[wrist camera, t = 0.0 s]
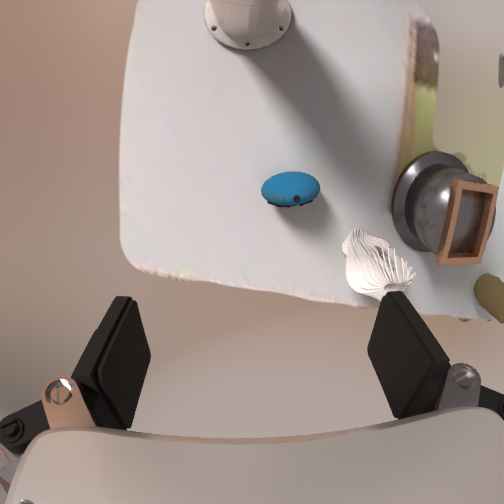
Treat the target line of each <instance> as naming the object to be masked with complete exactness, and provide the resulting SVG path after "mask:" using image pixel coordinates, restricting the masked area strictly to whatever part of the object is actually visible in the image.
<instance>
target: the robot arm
mask: <svg viewBox="0 0 504 504" xmlns="http://www.w3.org/2000/svg"><path fill="white" fill-rule="evenodd" d="M290 20H291V8H290V4H289V2H288V0H207V3H206V5H205V9H204V21H205V24H206V26H207V28H208V30H209V32H210V33H211V34H212V36H213V37H214V38H215V39H217V40H218V41H219V42H221V43H223V44H224V45H226V46H229V47H232V48H236V49H241V50H253V49H259V48H263V47H266V46H268V45H271V44H273V43H274V42H276V41H277V40H278V39H280V38H281V37H282V36H283V34H284V33H285V32H286V30H287V28H288V26H289V24H290ZM213 29H216V30H215V31H213ZM279 29H282V31H280V30H279ZM246 44H249V46H246ZM368 355H369V358H370V360H371V362H372V365H373V367H374V369H375V371H376V374H377V376H378V379H379V381H380V383H381V386H382V388H383V391H384V393H385V395H386V398H387V401H388V403H389V406H390V408H391V411H392V413H393V416H394V417H395V418H398V420H394V421H390V422H385V423H381V424H376V425H371V426H365V427H360V428H354V429H348V430H341V431H334V432H326V433H319V434H309V435H299V436H287V437H271V438H270V437H269V438H201V437H183V436H171V435H161V434H151V433H142V432H134V431H127V428H131V426H132V422H133V419H134V415H135V411H136V407H137V404H138V400H139V397H140V393H141V389H142V386H143V383H144V379H145V376H146V373H147V369H148V366H149V363H150V358H151V354H150V349H149V346H148V342H147V339H146V335H145V332H144V328H143V325H142V321H141V317H140V313H139V310H138V305H137V302H136V301H134V300H132V298H131V297H126V296H116V297H115V299H114V300H113V302H112V304H111V306H110V308H109V309H108V311H107V313H106V314H105V316H104V318H103V320H102V321H101V323H100V325H99V327H98V329H96V331H95V332H94V334H93V335H92V337H91V339H90V341H89V343H88V345H87V346H86V348H85V350H84V352H83V354H82V356H81V358H80V360H79V362H78V364H77V366H76V368H75V370H74V372H73V374H72V376H71V378H70V377H66V376H59V377H55V378H53V379H51V380H50V381H48V382H47V383H46V384H45V386H44V387H43V389H42V392H41V399H42V400H40V401H38V402H36V403H34V404H32V405H30V406H28V407H25V408H23V409H21V410H19V411H17V412H15V413H13V414H10V415H8V416H6V417H5V418H3V420H1V422H0V504H504V394H501V393H499V392H496V391H494V390H491V389H488V388H486V387H484V386H482V385H481V378H480V375H479V373H478V372H477V371H476V369H474V368H473V367H472V366H470V365H468V364H464V363H457V364H454V365H452V366H451V365H450V364H449V361H450V359H449V358H448V356H447V355H446V353H445V352H444V350H443V349H442V347H441V346H440V344H439V343H438V341H437V340H436V338H435V337H434V336H433V334H432V332H431V331H430V329H429V328H428V327H427V325H426V324H425V322H424V321H423V319H422V318H421V317H420V315H419V314H418V312H417V311H416V310H415V308H414V307H413V306H412V304H411V303H410V301H409V300H408V299H407V297H406V296H405V295H404V293H403V292H402V291H390V292H387V293H386V295H385V296H383V297H382V299H381V303H380V306H379V310H378V314H377V317H376V321H375V324H374V328H373V331H372V334H371V338H370V341H369V344H368Z"/></svg>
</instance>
